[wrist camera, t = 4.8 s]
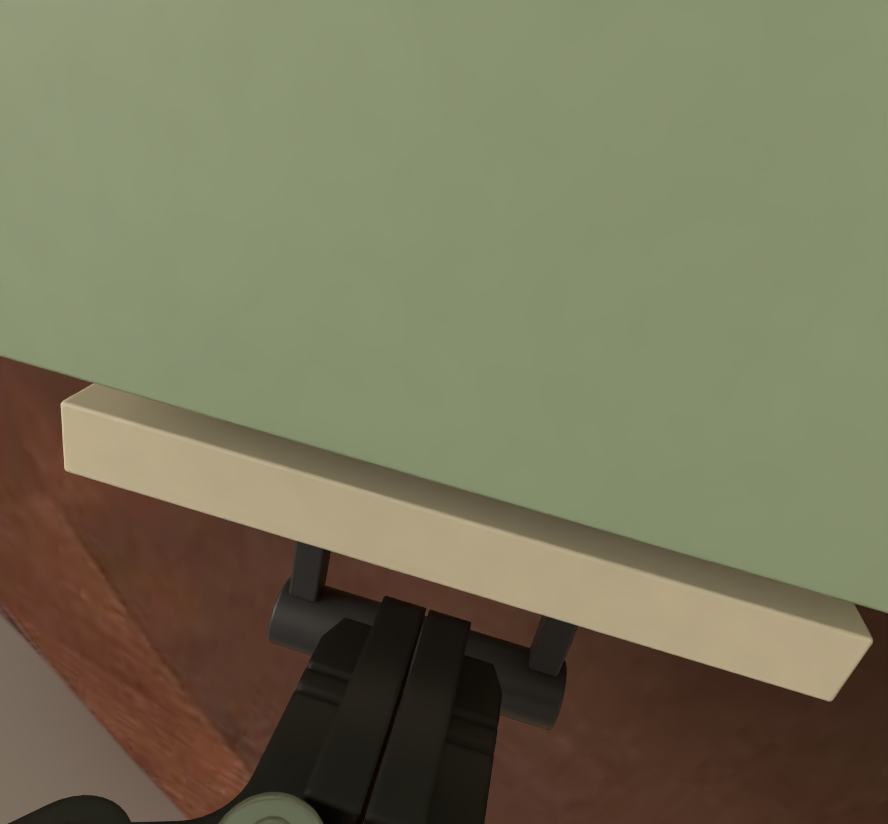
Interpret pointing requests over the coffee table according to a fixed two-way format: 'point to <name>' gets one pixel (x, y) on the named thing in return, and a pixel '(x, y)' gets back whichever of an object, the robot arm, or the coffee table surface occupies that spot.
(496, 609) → the coffee table surface
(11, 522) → the coffee table surface
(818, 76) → the cabinet
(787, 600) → the drawer
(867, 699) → the coffee table surface
